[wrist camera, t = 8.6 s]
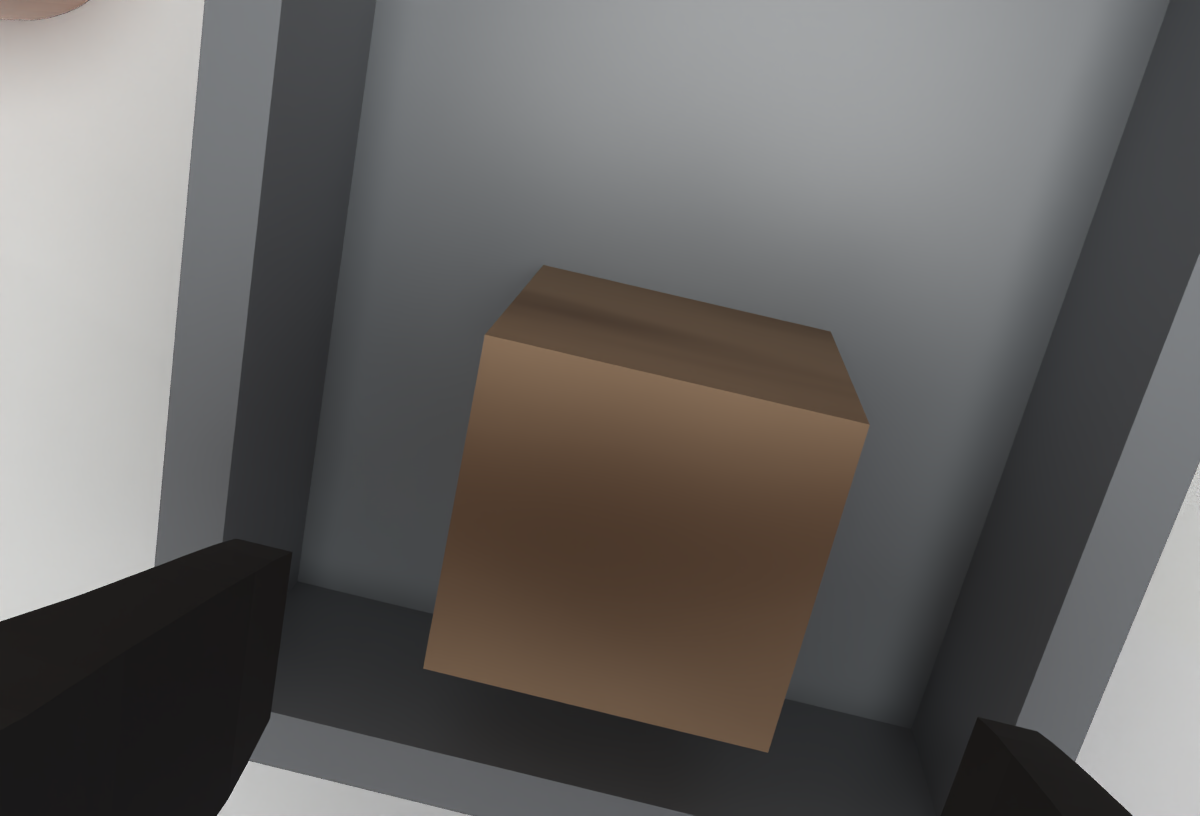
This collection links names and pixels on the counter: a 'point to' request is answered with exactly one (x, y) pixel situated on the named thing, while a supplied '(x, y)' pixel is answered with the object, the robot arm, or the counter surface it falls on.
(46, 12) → the terracotta cylinder
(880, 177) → the tote
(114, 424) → the counter surface
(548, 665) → the walnut cube
